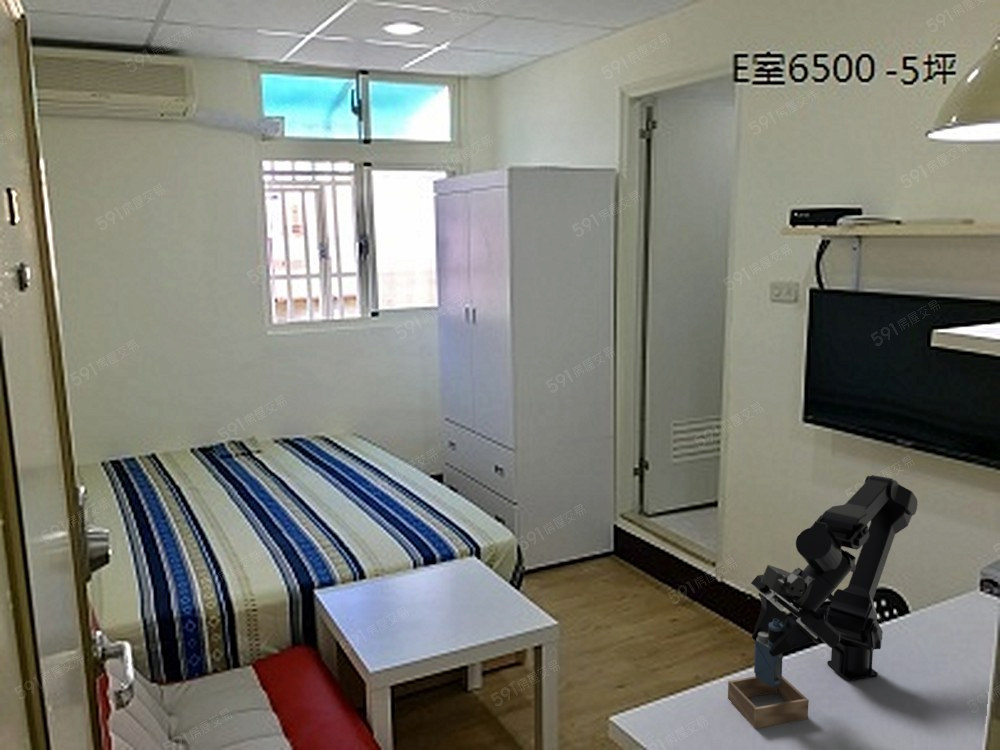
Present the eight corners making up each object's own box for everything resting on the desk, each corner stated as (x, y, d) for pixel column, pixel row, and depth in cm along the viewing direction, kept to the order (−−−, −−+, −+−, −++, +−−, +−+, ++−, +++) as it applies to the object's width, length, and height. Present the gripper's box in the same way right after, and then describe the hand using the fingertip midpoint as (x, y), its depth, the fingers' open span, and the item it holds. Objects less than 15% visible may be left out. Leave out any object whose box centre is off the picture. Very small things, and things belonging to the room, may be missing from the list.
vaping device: (774, 690, 134) (776, 625, 131) (751, 675, 138) (752, 612, 136) (784, 685, 135) (787, 621, 133) (761, 670, 139) (763, 608, 137)
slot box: (777, 690, 143) (778, 672, 142) (807, 718, 134) (808, 699, 133) (727, 699, 140) (728, 681, 140) (755, 728, 132) (755, 709, 131)
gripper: (761, 531, 142) (705, 597, 142) (826, 573, 124) (762, 648, 124) (798, 566, 145) (744, 631, 145) (867, 612, 127) (805, 685, 127)
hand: (761, 646), depth 135 cm, fingers closed on vaping device, 5 cm apart
